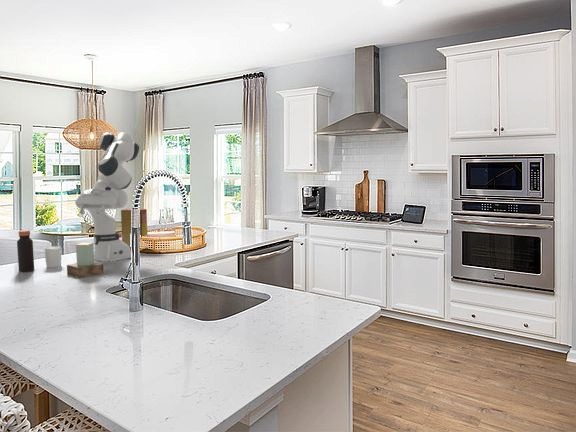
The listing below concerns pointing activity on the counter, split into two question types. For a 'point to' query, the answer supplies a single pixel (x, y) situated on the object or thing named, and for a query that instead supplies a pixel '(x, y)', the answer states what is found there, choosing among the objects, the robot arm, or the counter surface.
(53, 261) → the white cup
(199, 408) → the counter surface
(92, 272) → the walnut block
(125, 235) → the food packaging
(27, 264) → the bottle
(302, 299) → the counter surface
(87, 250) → the tin
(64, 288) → the counter surface
